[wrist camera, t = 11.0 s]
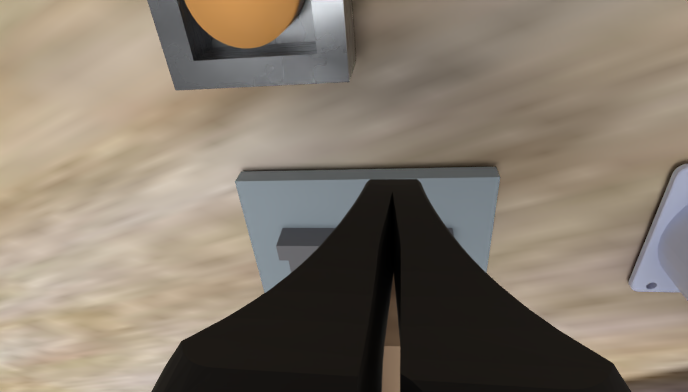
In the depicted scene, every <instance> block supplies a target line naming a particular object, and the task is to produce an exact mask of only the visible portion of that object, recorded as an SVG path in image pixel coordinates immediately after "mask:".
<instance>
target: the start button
mask: <svg viewBox="0 0 688 392" xmlns="http://www.w3.org/2000/svg"><path fill="white" fill-rule="evenodd" d="M184 1H185V3H186V5H187V7H188V9H189V11H190V13H191V14H192V16H193V17H194V19H195V20H196V22H197V23H198V24H199V25H200V26H201V27H202V28H203V29H204V30H205V31H206V32H207V33H208V34H209V35H211V36H212V37H213V38H215V39H216V40H218V41H220V42H222V43H224V44H227V45H229V46H233V47H237V48H257V47H260V46H263V45H266V44H268V43H270V42H271V41H273V40H274V39H276V38H277V37H278V36H279V35H280V34H281V33H282V32H283V31H284V30H285V29H286V28H287V27H288V26H289V25H291V24H292V23H293V21H294V20H295V19H296V18H297V16H298V15H299V13H300V11H301V9H302V7H303V4H304V1H305V0H184Z"/></svg>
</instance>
